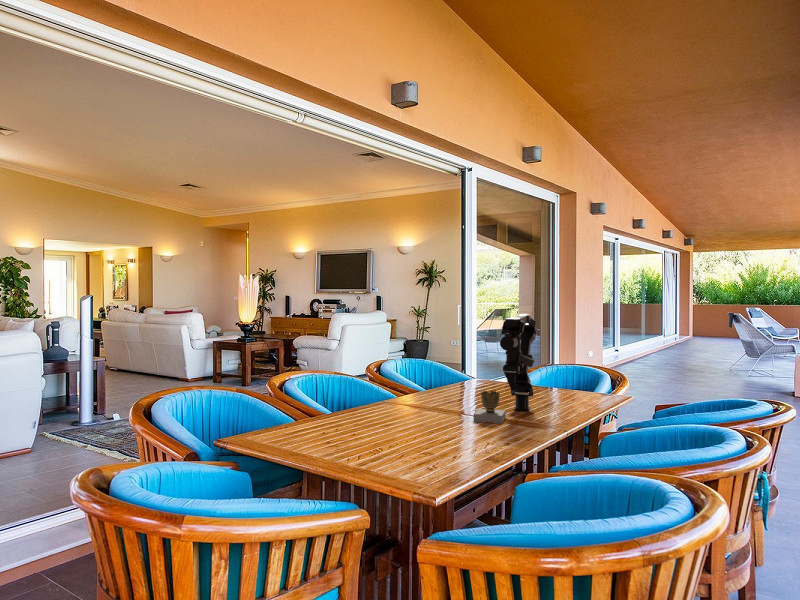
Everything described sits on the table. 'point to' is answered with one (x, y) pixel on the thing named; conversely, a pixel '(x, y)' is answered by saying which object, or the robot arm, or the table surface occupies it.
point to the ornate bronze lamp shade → (490, 400)
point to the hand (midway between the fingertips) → (513, 386)
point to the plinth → (489, 416)
